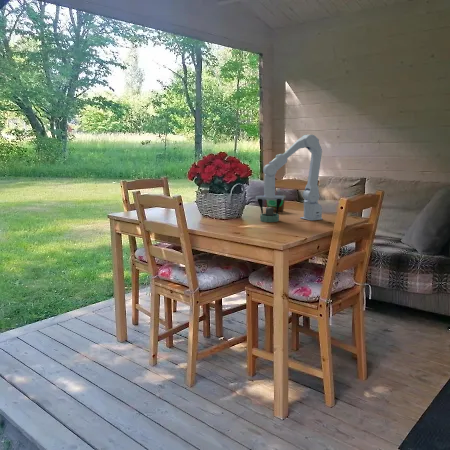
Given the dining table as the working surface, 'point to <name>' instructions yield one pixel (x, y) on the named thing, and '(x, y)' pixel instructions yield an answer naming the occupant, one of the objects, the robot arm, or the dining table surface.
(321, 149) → the robot arm
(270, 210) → the cell
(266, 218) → the green short cylinder
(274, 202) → the food container
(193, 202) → the dining table surface
